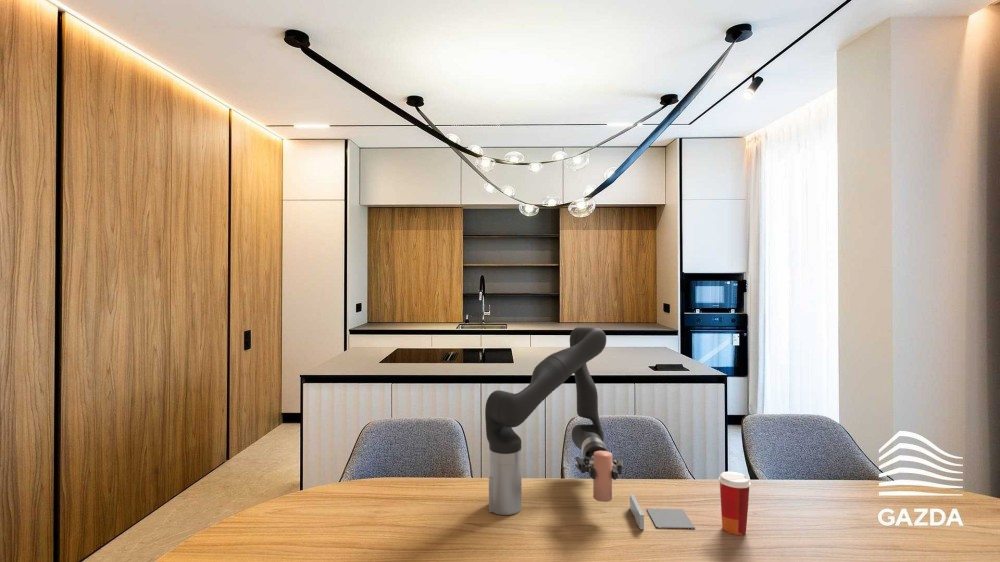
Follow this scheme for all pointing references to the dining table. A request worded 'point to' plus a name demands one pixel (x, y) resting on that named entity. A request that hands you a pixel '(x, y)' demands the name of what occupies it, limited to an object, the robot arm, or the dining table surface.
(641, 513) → the acrylic wall
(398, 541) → the dining table surface
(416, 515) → the dining table surface
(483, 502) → the dining table surface
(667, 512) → the resting mat
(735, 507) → the paper cup
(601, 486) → the salmon pink cylinder
